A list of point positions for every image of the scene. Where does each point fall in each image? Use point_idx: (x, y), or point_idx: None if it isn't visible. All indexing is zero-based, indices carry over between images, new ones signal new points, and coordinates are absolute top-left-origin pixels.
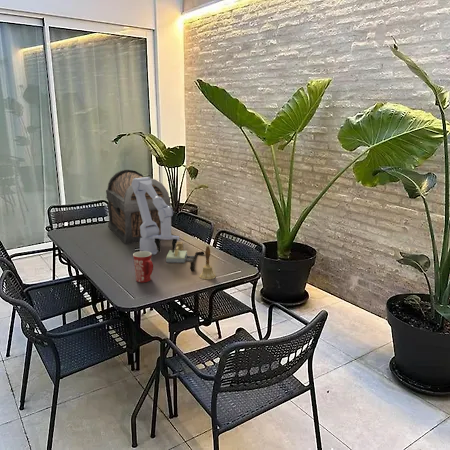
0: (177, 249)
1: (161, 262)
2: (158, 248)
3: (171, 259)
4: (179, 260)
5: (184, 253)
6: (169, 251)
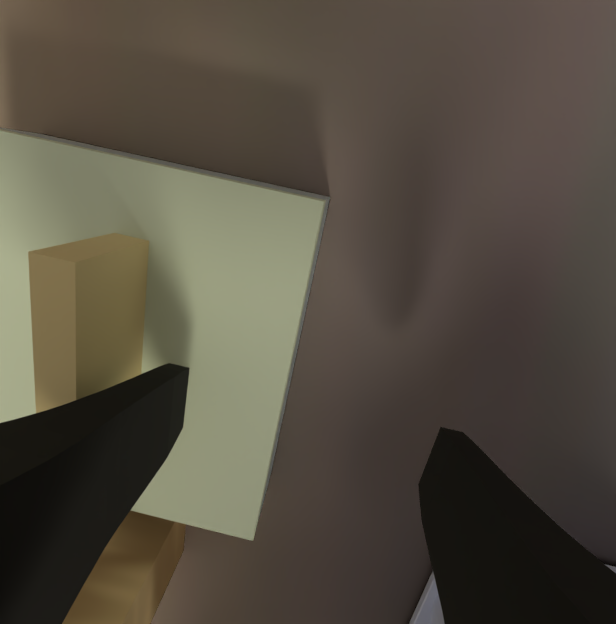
0: (38, 383)
1: (408, 214)
2: (502, 483)
3: (228, 178)
4: (91, 147)
5: (2, 362)
6: (255, 489)
